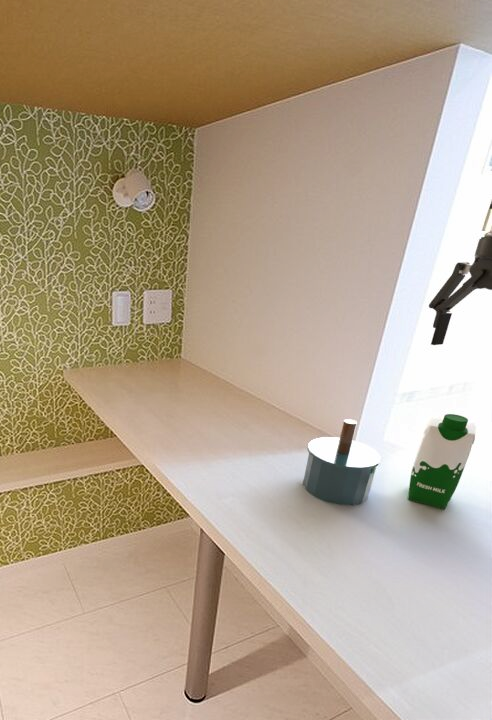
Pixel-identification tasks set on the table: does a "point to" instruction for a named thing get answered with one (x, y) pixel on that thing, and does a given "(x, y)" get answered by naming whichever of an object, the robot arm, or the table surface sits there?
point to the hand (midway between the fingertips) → (467, 351)
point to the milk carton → (441, 459)
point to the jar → (337, 483)
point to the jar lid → (344, 450)
